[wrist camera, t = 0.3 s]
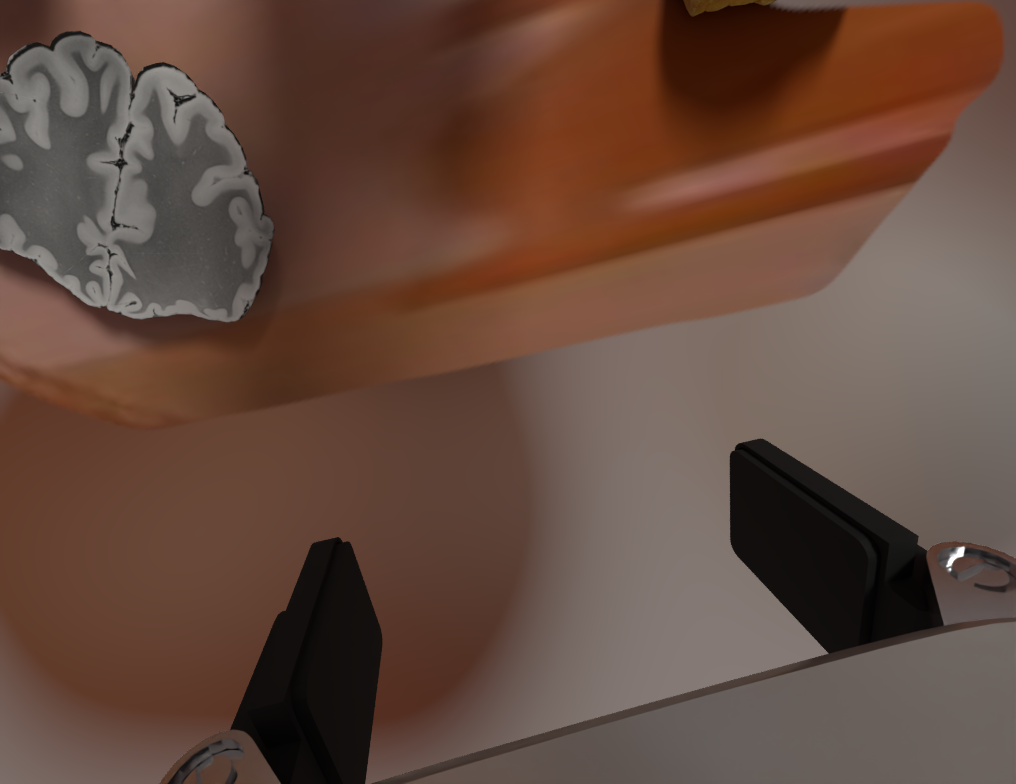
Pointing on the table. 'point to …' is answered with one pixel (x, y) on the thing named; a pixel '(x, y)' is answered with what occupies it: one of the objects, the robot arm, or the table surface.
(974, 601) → the robot arm
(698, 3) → the decorative stone
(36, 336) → the table surface
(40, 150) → the brain slice
